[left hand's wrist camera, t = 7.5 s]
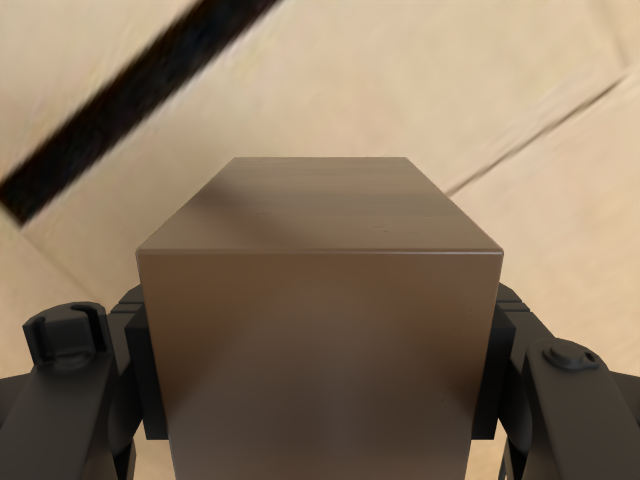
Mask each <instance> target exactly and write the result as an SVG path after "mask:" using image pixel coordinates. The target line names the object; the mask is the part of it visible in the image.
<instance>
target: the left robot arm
mask: <svg viewBox="0 0 640 480" xmlns="http://www.w3.org/2000/svg"><path fill="white" fill-rule="evenodd" d="M22 327H23V330H24V334H25V337H26V340H27V343H28V347H29V350H30V353H31V356H32V360H33V363H34V366H33V368H32V370H31V372H30V373H28V374H23V375H18V376H13V377H8V378H3V379H0V480H133V476H134V469H135V461H136V449H135V444H134V439H133V436H134V434H135V432H136V430H137V428H138V427H139V425H140V423H141V421H142V420H143V424H144V429H145V434H146V439H147V440H169V438H168V432H167V427H166V421H165V416H164V410H163V404H162V399H161V393H160V388H159V382H158V376H157V371H156V365H155V360H154V354H153V349H152V343H151V337H150V332H149V326H148V321H147V315H146V309H145V304H144V298H143V293H142V287H141V284H140V285H138V286H136V287H135V288H133V289H131V290H129V291H128V292H127V293H126V294H125V295H124V297H123V298H122V299H121V300H120V301H119V304H116V306H115V307H114V308H113V309H112V310H111V313H108V315H107V316H106V311H105V308H104V307H103V306H101V305H100V304H98V303H93V302H72V303H67V304H63V305H58V306H55V307H52V308H50V309H47V310H44V311H42V312H40V313H38V314H37V315H35V316H33V317H31V318H30V319H29V320H28V321H27V322H26V323H25V324H24V325H23V326H22ZM498 418H499V420H500V422H501V424H502V426H503V428H504V429H505V431H506V433H507V439H506V444H505V448H504V453H503V457H502V462H501V467H500V471H499V477H498V480H505V476H506V475H507V480H640V377H637V376H632V375H627V374H622V373H617V372H612V371H609V369H608V367H607V366H606V364H605V363H604V362H603V360H602V359H601V358H600V357H599V356H598V355H597V354H595V353H594V352H592V351H591V350H589V349H588V348H586V347H584V346H582V345H579V344H577V343H574V342H572V341H568V340H564V339H560V338H555V337H554V336H553V335H552V333H551V332H550V331H549V330H548V329H547V328H546V327H545V326H544V325H543V323H542V322H541V321H540V320H539V319H538V318H537V317H536V316H535V314H534V313H533V312H530V309H529V308H528V307H527V306H526V304H525V303H522V300H521V299H520V298H519V297H518V296H517V294H516V293H515V292H514V291H513V290H512V289H510V288H508V287H507V286H505V285H503V284H502V283H500V282H499V285H498V291H497V296H496V302H495V308H494V313H493V319H492V325H491V331H490V336H489V342H488V348H487V354H486V359H485V365H484V371H483V376H482V382H481V388H480V394H479V399H478V405H477V411H476V416H475V422H474V428H473V434H472V439H471V440H494V436H495V431H496V426H497V421H498Z"/></svg>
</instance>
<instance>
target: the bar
mask: <svg viewBox="0 0 640 480" xmlns="http://www.w3.org/2000/svg"><path fill="white" fill-rule="evenodd" d="M503 256H504V251H503V249H502V248H501V247H500V246H499V245H498V244H497V243H496V242H495V241H494V240H493V239H492V238H490V237H489V236H488V235H487V234H486V233H485V232H484V231H483V230H482V229H481V228H480V227H479V226H478V225H477V224H476V223H475V222H474V221H473V220H472V219H470V218H469V217H468V216H467V215H466V214H465V213H464V212H463V211H462V210H461V209H460V208H459V207H458V206H457V205H456V204H455V203H454V202H453V201H452V200H450V199H449V198H448V197H447V196H446V195H445V194H444V193H443V192H442V191H441V190H440V189H439V188H438V187H437V186H436V185H435V184H434V183H433V182H431V181H430V180H429V179H428V178H427V177H426V176H425V175H424V174H423V173H422V172H421V171H420V170H419V169H418V168H417V167H416V166H415V165H414V164H413V163H411V162H410V161H409V160H408V159H407V158H405V157H311V158H233V159H232V160H231V161H230V162H229V163H228V164H227V165H226V166H225V167H224V168H223V169H222V170H221V171H220V172H219V173H218V174H216V175H215V176H214V177H213V178H212V179H211V180H210V181H209V182H208V183H207V184H206V185H205V186H204V187H203V188H202V189H201V190H199V191H198V192H197V193H196V194H195V195H194V196H193V197H192V198H191V199H190V200H189V201H188V202H187V203H186V204H185V205H184V206H182V207H181V208H180V209H179V210H178V211H177V212H176V213H175V214H174V215H173V216H172V217H171V218H170V219H169V220H168V221H167V222H165V223H164V224H163V225H162V226H161V227H160V228H159V229H158V230H157V231H156V232H155V233H154V234H153V235H152V236H151V237H150V238H148V239H147V240H146V241H145V242H144V243H143V244H142V245H141V246H140V247H139V248H138V249H137V250H136V259H137V265H138V270H139V276H140V281H141V287H142V293H143V298H144V304H145V309H146V315H147V321H148V326H149V332H150V337H151V343H152V349H153V354H154V360H155V365H156V371H157V376H158V382H159V388H160V393H161V399H162V404H163V410H164V416H165V421H166V427H167V432H168V438H169V444H170V449H171V455H172V460H173V466H174V471H175V477H176V480H464V479H465V474H466V468H467V462H468V456H469V451H470V445H471V439H472V434H473V428H474V422H475V416H476V411H477V405H478V399H479V394H480V388H481V382H482V376H483V371H484V365H485V359H486V354H487V348H488V342H489V336H490V331H491V325H492V319H493V313H494V308H495V302H496V296H497V291H498V285H499V279H500V273H501V268H502V262H503Z"/></svg>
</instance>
